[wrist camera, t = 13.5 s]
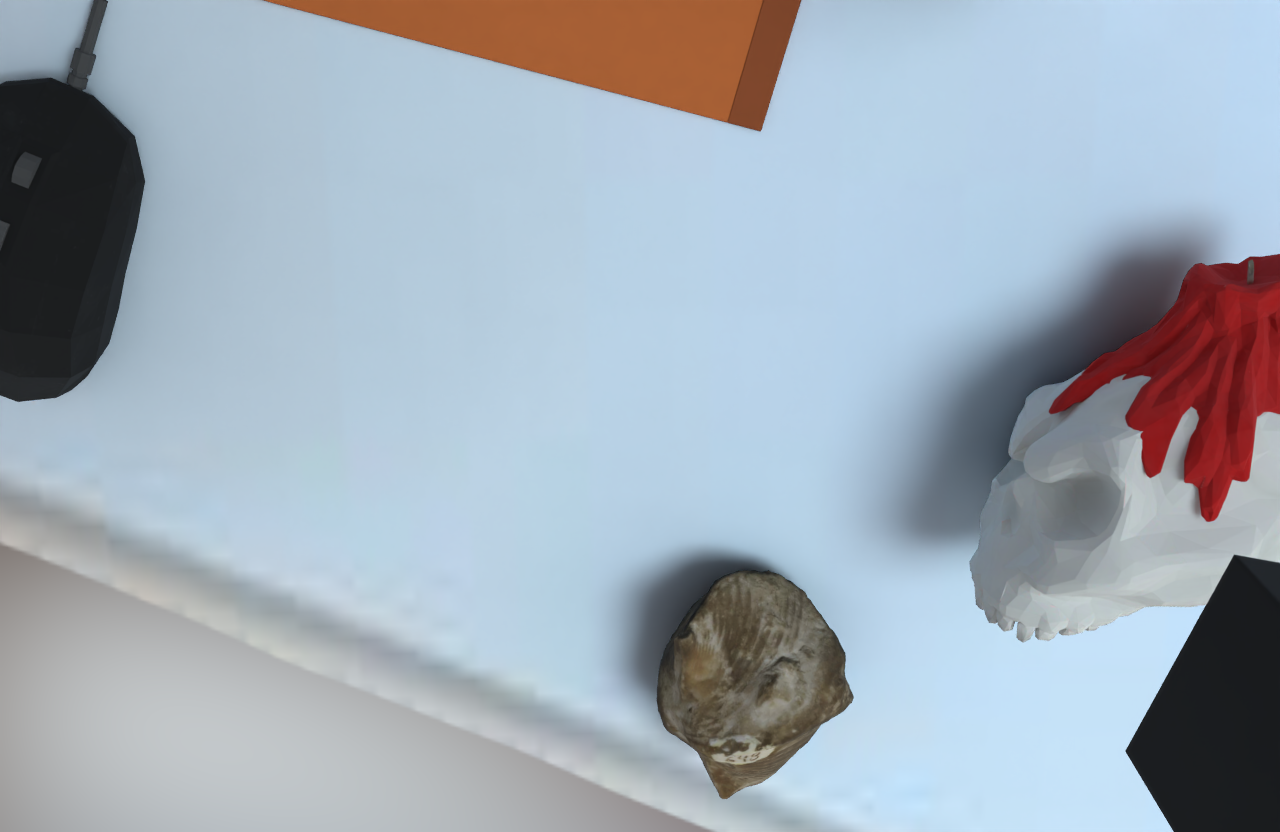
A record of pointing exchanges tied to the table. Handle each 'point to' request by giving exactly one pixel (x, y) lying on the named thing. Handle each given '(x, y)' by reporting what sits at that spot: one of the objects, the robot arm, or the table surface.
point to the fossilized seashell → (750, 677)
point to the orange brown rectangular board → (608, 43)
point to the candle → (1143, 467)
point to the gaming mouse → (62, 226)
